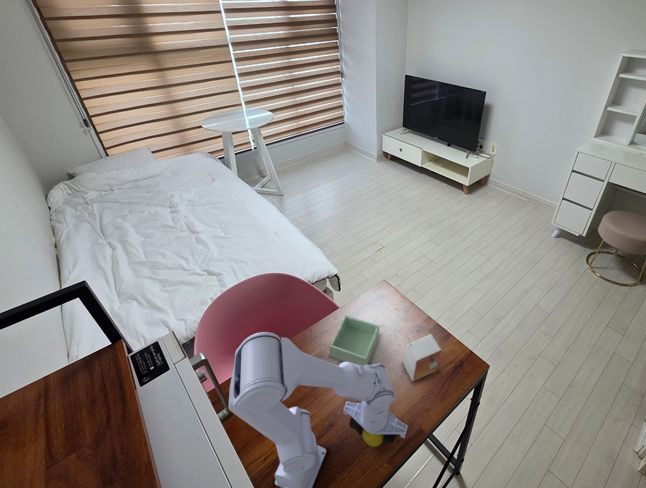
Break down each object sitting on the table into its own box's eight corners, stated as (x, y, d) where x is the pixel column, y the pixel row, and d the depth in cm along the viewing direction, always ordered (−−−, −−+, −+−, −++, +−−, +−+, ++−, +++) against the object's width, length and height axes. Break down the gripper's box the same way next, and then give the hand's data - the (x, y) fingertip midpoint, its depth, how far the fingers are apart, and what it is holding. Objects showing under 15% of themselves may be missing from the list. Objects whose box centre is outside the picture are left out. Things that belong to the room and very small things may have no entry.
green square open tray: (366, 368, 93) (366, 359, 90) (330, 356, 96) (329, 346, 93) (378, 335, 102) (379, 326, 99) (345, 324, 105) (345, 315, 102)
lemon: (389, 437, 79) (391, 422, 75) (374, 458, 76) (375, 443, 71) (372, 420, 82) (373, 405, 78) (357, 439, 79) (357, 424, 74)
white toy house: (412, 382, 91) (416, 361, 85) (403, 364, 95) (405, 343, 89) (437, 371, 93) (442, 350, 87) (426, 354, 98) (431, 333, 92)
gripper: (412, 401, 72) (407, 428, 79) (351, 378, 75) (352, 406, 83) (404, 436, 66) (399, 462, 74) (338, 410, 70) (340, 437, 78)
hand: (374, 435), depth 78 cm, fingers closed on lemon, 5 cm apart
